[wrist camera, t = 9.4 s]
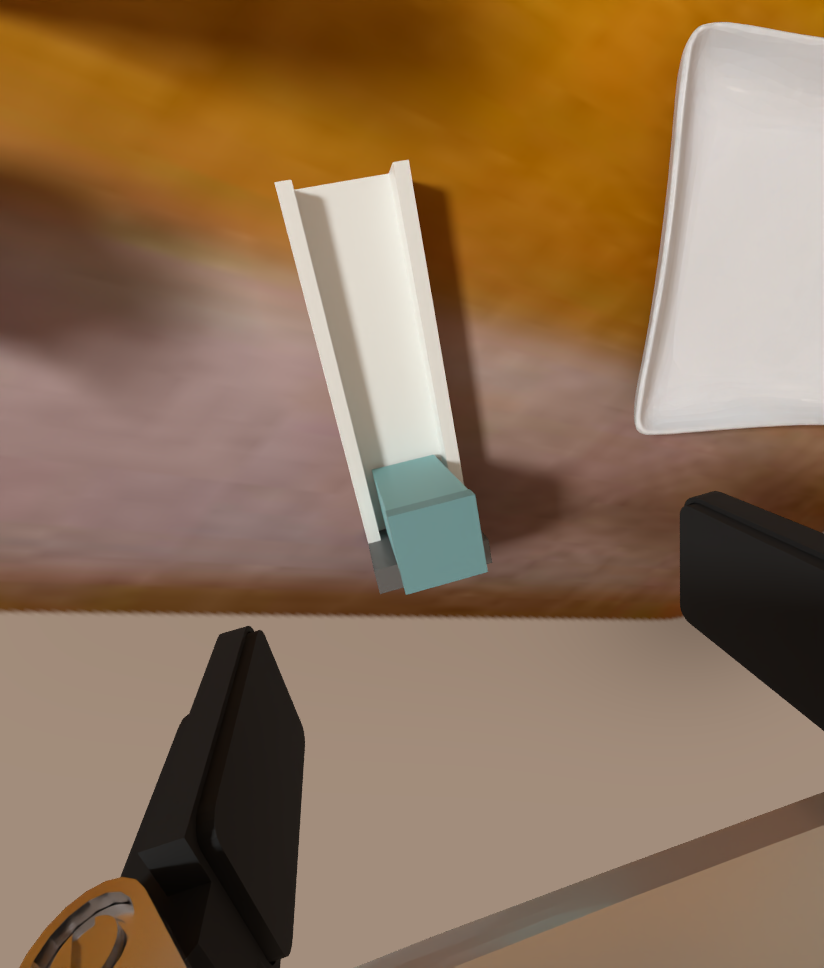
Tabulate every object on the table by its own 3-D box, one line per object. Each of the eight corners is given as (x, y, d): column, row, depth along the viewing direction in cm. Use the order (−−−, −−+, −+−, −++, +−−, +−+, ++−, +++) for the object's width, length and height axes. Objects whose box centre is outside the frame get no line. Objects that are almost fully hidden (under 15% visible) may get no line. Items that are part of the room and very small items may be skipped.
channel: (400, 177, 24) (423, 126, 18) (461, 523, 31) (492, 562, 25) (279, 198, 23) (264, 152, 18) (370, 547, 30) (380, 593, 25)
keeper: (434, 453, 28) (475, 494, 20) (445, 512, 29) (487, 572, 21) (370, 469, 27) (387, 517, 20) (385, 528, 29) (406, 594, 21)
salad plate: (941, 87, 28) (1020, 53, 25) (847, 417, 35) (900, 424, 32) (647, 54, 25) (695, 11, 22) (602, 429, 31) (634, 438, 28)
